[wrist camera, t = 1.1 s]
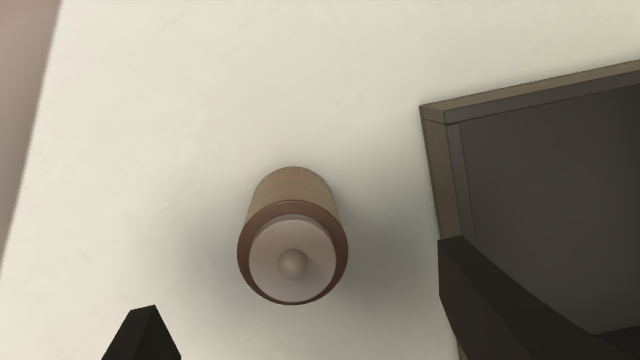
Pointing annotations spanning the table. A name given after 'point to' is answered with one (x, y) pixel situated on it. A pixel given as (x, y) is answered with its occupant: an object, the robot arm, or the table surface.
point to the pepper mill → (292, 239)
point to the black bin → (549, 190)
